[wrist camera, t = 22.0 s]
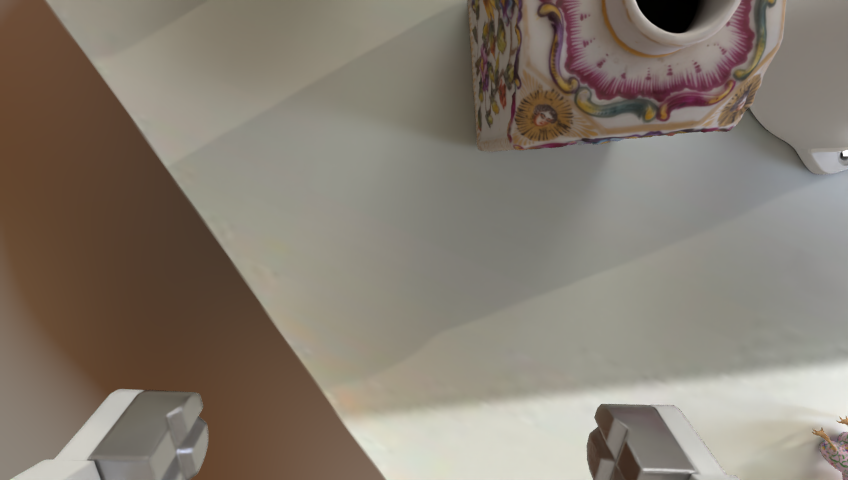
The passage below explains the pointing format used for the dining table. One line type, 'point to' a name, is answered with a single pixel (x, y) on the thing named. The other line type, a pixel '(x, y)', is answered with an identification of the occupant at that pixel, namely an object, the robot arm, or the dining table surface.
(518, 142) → the decorative jar
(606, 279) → the dining table surface
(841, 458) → the pink antlered figurine
